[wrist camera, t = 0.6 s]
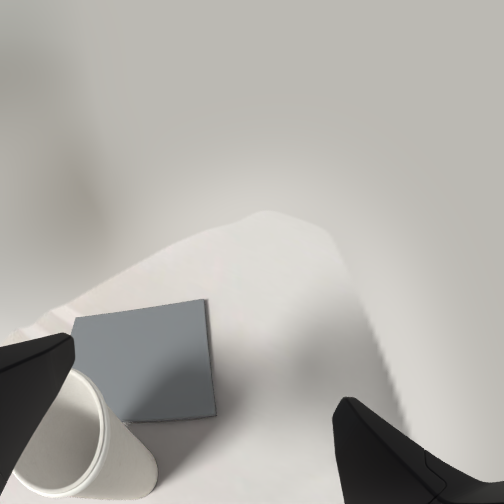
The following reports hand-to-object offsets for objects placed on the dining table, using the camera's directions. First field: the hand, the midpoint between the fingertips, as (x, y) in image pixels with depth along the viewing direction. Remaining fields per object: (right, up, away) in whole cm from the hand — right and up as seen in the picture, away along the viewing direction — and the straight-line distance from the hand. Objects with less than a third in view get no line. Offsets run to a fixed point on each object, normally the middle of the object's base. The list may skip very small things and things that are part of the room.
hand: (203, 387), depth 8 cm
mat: (-10, -6, +16) cm, 20 cm away
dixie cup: (-8, -13, +8) cm, 17 cm away
